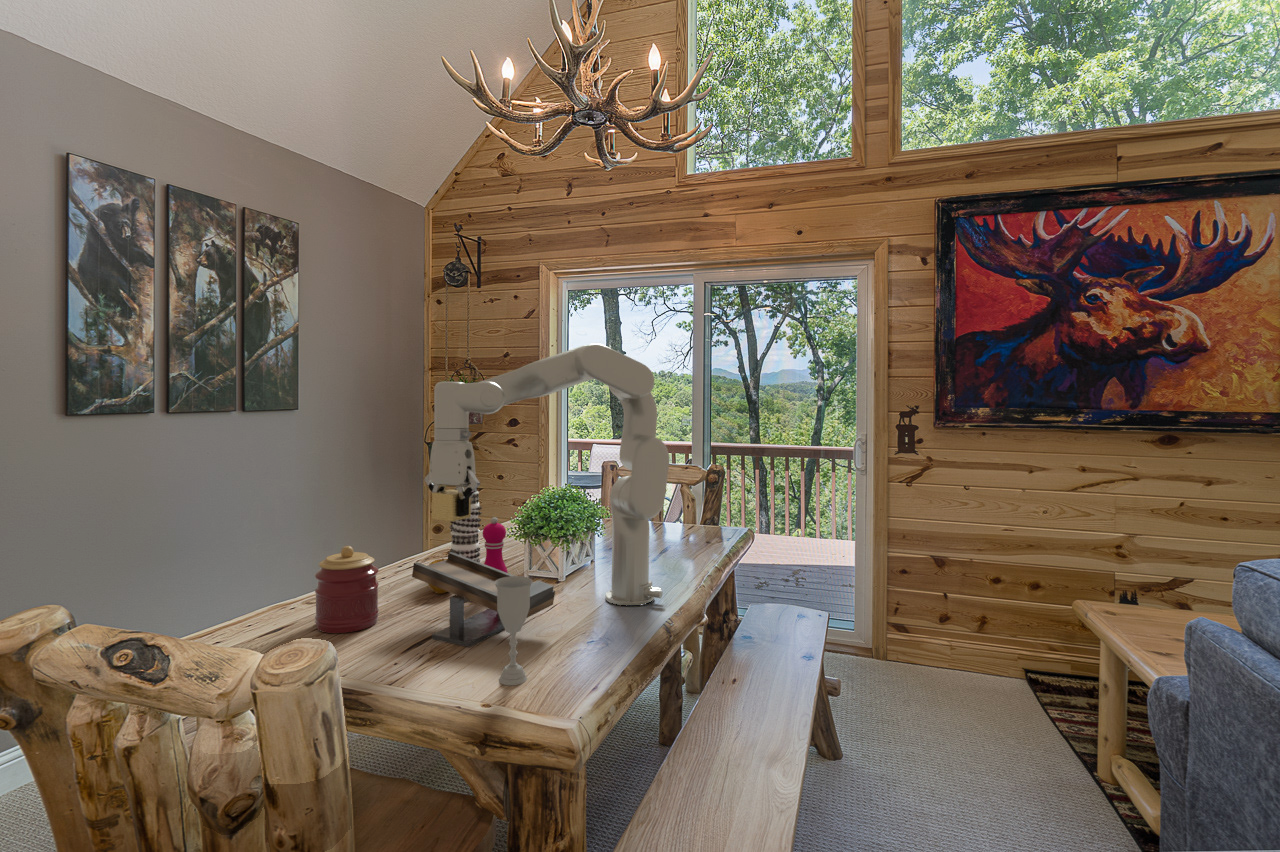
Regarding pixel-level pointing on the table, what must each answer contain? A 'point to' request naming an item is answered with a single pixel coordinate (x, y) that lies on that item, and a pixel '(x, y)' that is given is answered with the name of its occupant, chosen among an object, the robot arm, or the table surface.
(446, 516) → the block
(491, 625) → the stand
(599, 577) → the table surface
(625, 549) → the robot arm
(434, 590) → the apple
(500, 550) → the pepper mill
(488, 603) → the beam
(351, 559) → the canister
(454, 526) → the decorative candle
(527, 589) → the chalice
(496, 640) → the table surface
